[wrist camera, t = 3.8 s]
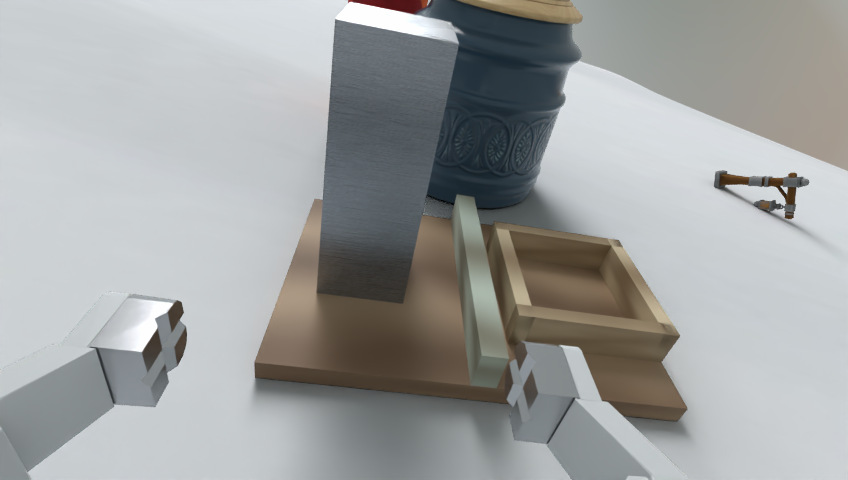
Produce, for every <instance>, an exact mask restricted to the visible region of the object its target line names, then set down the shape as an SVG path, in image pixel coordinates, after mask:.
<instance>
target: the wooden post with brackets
mask: <svg viewBox="0 0 848 480" xmlns="http://www.w3.org/2000/svg"><path fill="white" fill-rule="evenodd" d="M772 177H773V176H772ZM772 177H770V176H769V177H766V176H764V177H756V176H752V177H743V176H736V175H730V174H727V171H724V170H722V171H717V172H716V173H715V182H714V187H715V188H720V187H724V186H725V185H737V184H743V185H748V186H760V187H762V186H764V187H769V186H774V187H777V188H778V190H779V191H780V192H781V194H782V195H783V196H784V198H785V200H786V204H785V206H783V205H781V204H776V200H773V201H765V200H760V201H756V202H755V203H754V206H756V207H758V209H767V210H769V212H770V211H773V210H774V209H776V208H777V210H778V209H783V208H785V210H784V211H786V212H785V218H786V219H792V218H794V211H795V207H796V204H795V195H796V187H798V188H799V187H802V186H807V185H808V184H809V180H808V179H803V177H797V174H796V173H790V174H789V175H788V177H784V178H772ZM780 186H783V187H788V192H787V194H786V193H785V192H784V191H783V189H782V188H781V187H780ZM781 206H782V208H781Z"/></svg>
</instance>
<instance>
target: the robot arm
mask: <svg viewBox="0 0 848 480" xmlns="http://www.w3.org/2000/svg"><path fill="white" fill-rule="evenodd" d="M183 313H184V312H183V307H182V302H180V301H178V300H171V299H164V298H157V297H150V296H143V295H136V294H126V293H119V292H112V291H109V292H108V293H106V294H104V295H102V296H101V297H100V299H99V300H98V301H97V302H96V303H95V304H94V306H93V307H92V308H91V309H90V310H89V312H88V313H87V314H86V315H85V316H84V317H83V319H82V320H81V321H80V322H79V323H78V324H77V326H76V327H75V328H74V329H73V330H72V331H71V333H70V334H69V335H68V336H67V337H66V338H65V340H64V341H63V342H62V343H61V344H52V345H49V346H47V347H45V348H43V349H41V350H39V351H37V352H35V353H33V354H31V355H29V356H27V357H25V358H23V359H21V360H18V361H16V362H14V363H12V364H10V365H8V366H6V367H4V368H2V369H0V480H32V479H31V477H30V475H29V474H28V471H29V470H31V469H32V468H33V467H35V466H36V465H37V464H39V463H40V462H41V461H43V460H44V459H45V458H47V457H48V456H49V455H51V454H52V453H53V452H55V451H56V450H57V449H59V448H60V447H61V446H63V445H64V444H65V443H67V442H68V441H69V440H71V439H72V438H73V437H75V436H76V435H77V434H79V433H80V432H81V431H82V430H84V429H85V428H86V427H88V426H89V425H90V424H92V423H93V422H94V421H96V420H97V419H98V418H100V417H101V416H102V415H104V414H105V413H106V412H108V411H109V410H110V409H112V408H113V407H114V404H115V405H130V406H145V407H156V405H157V403H158V401H159V399H160V397H161V396H162V394H163V392H164V390H165V388H166V386H167V385H168V383H169V381H168V375H167V372H169V371H171V370H172V369H174V368H175V367H177V366H178V364H179V362H180V360H181V358H182V356H183V353H184V350H185V346H186V341H187V331H186V326H185V325H184V324H183V323H182V322H181V321H180V318H181V317H182V315H183ZM515 356H516V359H515V360H513V361H511V362H510V363H509V365H508V367H507V370H506V374H505V382H504V385H505V395H506V400H507V401H508V402H509V403H510V404H511V406H512V407H513V409H512V411H511V413H510V421H511V426H512V431H513V436H514V440H517V441H526V442H534V443H542V444H548V445H547V446H548V448H549V449H550V450H551V452H552V453H553V454H554V456H555V457H556V459H557V460H558V461H559V463H560V464H561V465H562V467H563V468H564V469H565V471H566V472H567V473H568V475H569V476H570V478H571V479H572V480H691V479H690V478H689V477H688V476H687V475H686V474H684V473H683V472H682V471H681V470H680V469H679V468H678V467H677V466H676V465H675V464H674V463H673V462H672V461H671V460H669V459H668V458H667V457H666V456H665V455H664V454H663V453H662V452H661V451H660V450H659V449H658V448H657V447H656V446H654V445H653V444H652V443H651V442H650V441H649V440H648V439H647V438H646V437H645V436H644V435H643V434H642V433H641V432H639V431H638V430H637V429H636V428H635V427H634V426H633V425H632V424H631V423H630V422H629V421H628V420H627V419H625V418H624V417H623V416H622V415H621V414H620V413H619V412H618V411H617V410H616V409H615V408H614V407H613V406H612V405H610V404H609V403H608V402H604V401H602V400H601V397H600V395H599V392H598V390H597V387H596V385H595V382H594V380H593V378H592V375H591V373H590V370H589V368H588V365H587V363H586V360H585V358H584V355H583V353H582V351H581V349H580V348H579V347H573V346H564V345H555V344H546V343H536V342H527V341H520V342H519V343H518V344H517V346H516V349H515Z"/></svg>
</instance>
